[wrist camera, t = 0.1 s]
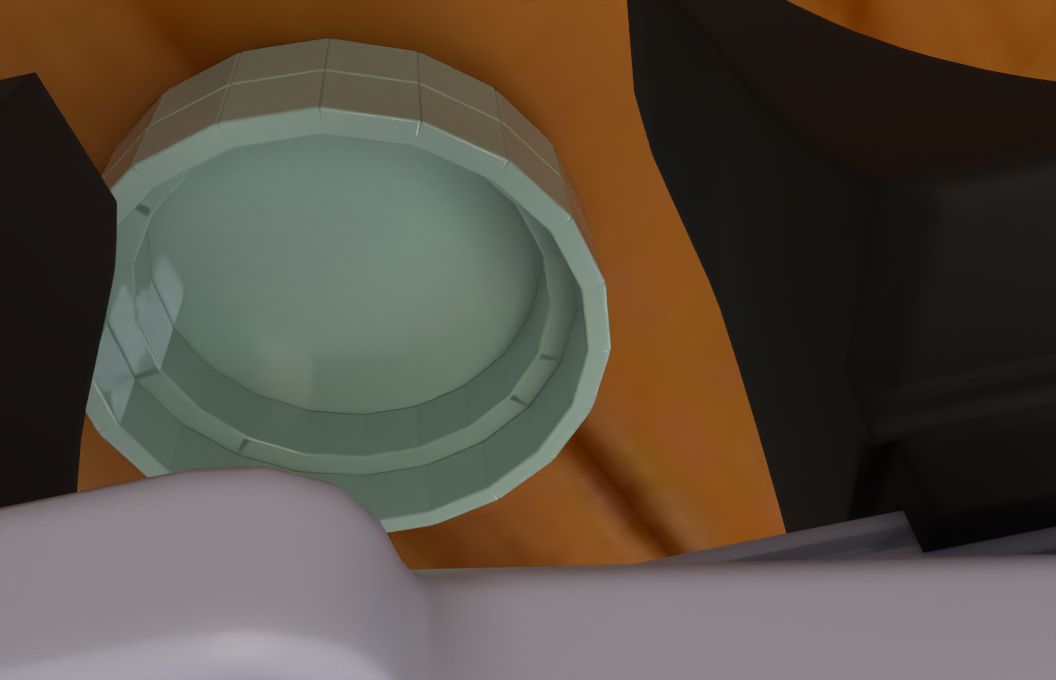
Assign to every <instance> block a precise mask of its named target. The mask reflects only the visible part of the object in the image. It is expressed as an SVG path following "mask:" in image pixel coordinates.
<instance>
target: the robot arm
mask: <svg viewBox="0 0 1056 680" xmlns="http://www.w3.org/2000/svg"><path fill="white" fill-rule="evenodd" d="M627 6H628V19H629V31H630V44H631V57H632V69H633V82H634V93H635V96H636V100H637V103H638V107H639V110H640V114H641V118H642V121H643V125H644V128H645V131H646V135H647V138H648V141H649V145H650V148H651V151H652V155H653V157H654V159H655V162H656V164H657V166H658V169H659V171H660V173H661V175H662V178H663V180H664V182H665V184H666V187H667V189H668V191H669V193H670V195H671V198H672V200H673V202H674V204H675V207H676V209H677V211H678V213H679V215H680V218H681V220H682V222H683V224H684V226H685V229H686V231H687V233H688V235H689V237H690V240H691V242H692V244H693V246H694V248H695V251H696V253H697V255H698V257H699V259H700V262H701V264H702V266H703V268H704V270H705V273H706V275H707V277H708V279H709V282H710V284H711V287H712V289H713V292H714V294H715V297H716V299H717V302H718V304H719V307H720V310H721V313H722V316H723V319H724V322H725V326H726V329H727V332H728V335H729V338H730V341H731V344H732V348H733V351H734V354H735V357H736V360H737V363H738V367H739V370H740V373H741V376H742V380H743V383H744V386H745V390H746V393H747V396H748V400H749V403H750V406H751V410H752V413H753V416H754V420H755V423H756V426H757V430H758V433H759V437H760V440H761V444H762V447H763V451H764V454H765V458H766V461H767V465H768V468H769V472H770V475H771V479H772V482H773V486H774V490H775V493H776V497H777V500H778V504H779V507H780V511H781V515H782V518H783V522H784V526H785V530H786V534H781V535H776V536H771V537H766V538H761V539H756V540H751V541H746V542H741V543H736V544H731V545H726V546H721V547H716V548H711V549H706V550H701V551H696V552H691V553H686V554H681V555H676V556H671V557H666V558H661V559H656V560H651V561H646V562H641V563H636V564H618V565H578V566H537V567H497V568H457V569H418V570H409V569H408V567H407V566H406V565H405V564H404V563H403V561H402V560H401V559H400V557H399V555H398V553H397V552H396V550H395V548H394V546H393V544H392V542H391V540H390V539H389V537H388V535H387V533H386V531H385V529H384V527H383V525H382V524H381V522H380V521H379V520H378V519H377V518H376V517H375V516H374V515H372V514H371V513H370V512H369V511H368V510H366V509H365V508H364V507H363V506H362V505H361V504H359V503H358V502H357V501H356V500H355V499H354V498H352V497H351V496H350V495H349V494H348V493H346V492H345V491H344V490H343V489H342V488H340V487H339V486H337V485H335V484H334V483H332V482H329V481H326V480H322V479H318V478H314V477H310V476H307V475H303V474H299V473H295V472H291V471H287V470H284V469H280V468H276V467H272V466H268V465H256V466H235V467H214V468H194V469H188V470H183V471H178V472H173V473H168V474H163V475H158V476H154V477H149V478H144V479H139V480H134V481H129V482H124V483H119V484H114V485H110V486H105V487H100V488H95V489H90V490H85V491H80V492H77V483H78V471H79V458H80V445H81V437H82V430H83V424H84V418H85V411H86V406H87V402H88V397H89V392H90V388H91V383H92V378H93V374H94V369H95V364H96V360H97V355H98V350H99V346H100V341H101V336H102V332H103V327H104V322H105V318H106V313H107V308H108V303H109V298H110V293H111V288H112V283H113V277H114V272H115V262H116V244H117V201H116V199H115V198H114V196H113V194H112V193H111V191H110V190H109V188H108V186H107V185H106V183H105V182H104V180H103V178H102V177H101V175H100V174H99V172H98V171H97V169H96V167H95V166H94V164H93V163H92V161H91V159H90V158H89V156H88V155H87V153H86V152H85V150H84V148H83V147H82V145H81V144H80V142H79V140H78V139H77V137H76V136H75V134H74V133H73V131H72V129H71V128H70V126H69V125H68V123H67V121H66V120H65V118H64V117H63V115H62V114H61V112H60V110H59V109H58V107H57V106H56V104H55V102H54V101H53V99H52V98H51V96H50V95H49V93H48V91H47V90H46V88H45V87H44V85H43V83H42V82H41V80H40V79H39V77H38V75H37V74H36V72H35V73H30V74H25V75H21V76H16V77H12V78H7V79H2V80H0V680H1056V81H1049V80H1042V79H1035V78H1028V77H1022V76H1017V75H1011V74H1006V73H1001V72H995V71H990V70H985V69H980V68H976V67H972V66H968V65H964V64H960V63H955V62H951V61H947V60H943V59H939V58H935V57H931V56H927V55H924V54H920V53H917V52H913V51H910V50H907V49H903V48H900V47H897V46H894V45H892V44H889V43H886V42H883V41H880V40H877V39H875V38H872V37H869V36H866V35H863V34H860V33H857V32H855V31H852V30H850V29H847V28H845V27H843V26H840V25H838V24H835V23H833V22H831V21H829V20H827V19H824V18H822V17H820V16H818V15H816V14H814V13H812V12H810V11H807V10H805V9H803V8H801V7H799V6H797V5H795V4H793V3H791V2H789V1H787V0H627Z"/></svg>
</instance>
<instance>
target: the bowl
mask: <svg viewBox="0 0 1056 680" xmlns="http://www.w3.org/2000/svg"><path fill="white" fill-rule="evenodd" d="M101 177H102V178H103V180H104V182H105V183H106V185H107V186H108V188H109V190H110V191H111V193H112V194H113V196H114V198H115V199H116V201H117V244H116V262H115V272H114V277H113V283H112V288H111V293H110V298H109V303H108V308H107V313H106V318H105V322H104V327H103V332H102V336H101V341H100V346H99V350H98V355H97V360H96V364H95V369H94V374H93V378H92V383H91V388H90V392H89V397H88V402H87V406H86V413H87V415H88V416H89V418H90V420H91V422H92V423H93V425H94V427H95V429H96V430H97V431H99V434H100V435H101V436H102V437H103V438H104V439H105V440H106V441H108V442H109V443H110V444H111V445H112V446H113V447H114V448H115V449H116V450H118V451H119V452H120V453H121V454H122V455H123V456H124V457H125V458H126V459H128V460H129V461H130V462H131V463H132V464H133V465H134V466H135V467H136V468H138V469H139V470H140V471H141V472H142V473H143V474H144V475H145V476H146V477H148V478H149V477H154V476H158V475H163V474H168V473H173V472H178V471H183V470H188V469H194V468H214V467H235V466H256V465H268V466H272V467H276V468H280V469H284V470H287V471H291V472H295V473H299V474H303V475H307V476H310V477H314V478H318V479H322V480H326V481H329V482H332V483H334V484H335V485H337V486H339V487H340V488H342V489H343V490H344V491H345V492H346V493H348V494H349V495H350V496H351V497H352V498H354V499H355V500H356V501H357V502H358V503H359V504H361V505H362V506H363V507H364V508H365V509H366V510H368V511H369V512H370V513H371V514H372V515H374V516H375V517H376V518H377V519H378V520H379V521H380V522H381V524H382V525H383V527H384V529H385V531H386V533H389V532H395V531H401V530H407V529H413V528H420V527H426V526H432V525H434V524H438V523H441V522H443V521H446V520H449V519H451V518H454V517H456V516H459V515H461V514H464V513H466V512H469V511H471V510H474V509H476V508H479V507H481V506H484V505H486V504H489V503H491V502H494V501H496V500H498V498H502V497H503V496H504V495H506V494H507V493H508V492H510V491H511V490H513V489H514V488H515V487H517V486H518V485H520V484H521V483H522V482H524V481H525V480H527V479H528V478H529V477H531V476H532V475H534V474H535V473H536V472H538V471H539V470H540V469H542V468H543V467H545V466H546V465H547V464H549V463H550V462H551V461H552V460H553V459H554V458H555V457H556V456H557V454H558V453H559V452H560V451H561V449H562V448H563V447H564V445H565V444H566V443H567V441H568V440H569V439H570V438H571V436H572V435H573V434H574V432H575V431H576V430H577V428H578V427H579V426H580V425H581V423H582V422H583V421H584V419H585V418H586V417H587V415H588V414H589V413H590V411H591V409H592V407H593V404H594V401H595V398H596V395H597V392H598V389H599V386H600V383H601V379H602V376H603V373H604V370H605V367H606V364H607V361H608V358H609V354H610V351H611V350H610V348H611V338H610V325H609V312H608V300H607V287H606V282H605V279H604V275H603V272H602V269H601V265H600V262H599V259H598V255H597V252H596V249H595V245H594V242H593V239H592V236H591V232H590V229H589V226H588V222H587V219H586V216H585V212H584V209H583V206H582V203H581V201H580V198H579V196H578V194H577V192H576V190H575V188H574V186H573V184H572V182H571V180H570V178H569V176H568V174H567V172H566V170H565V168H564V166H563V164H562V162H561V160H560V158H559V156H558V154H557V152H556V150H555V148H554V146H553V145H552V144H550V141H549V140H548V139H547V138H546V137H545V136H544V135H543V134H542V133H541V132H540V131H539V130H538V129H537V128H536V127H535V126H534V125H533V124H532V123H531V122H530V121H528V120H527V119H526V118H525V117H524V116H523V115H522V114H521V113H520V112H519V111H518V110H517V109H516V108H515V107H514V106H513V105H512V104H511V103H510V102H509V101H508V100H507V99H506V98H505V97H504V96H502V95H501V94H500V93H499V92H498V91H495V89H494V88H493V87H491V86H489V85H487V84H485V83H483V82H481V81H479V80H477V79H475V78H473V77H471V76H469V75H467V74H464V73H462V72H460V71H458V70H456V69H454V68H452V67H450V66H448V65H446V64H444V63H442V62H440V61H437V60H435V59H433V58H431V57H429V56H427V55H425V54H423V53H420V52H419V53H417V52H416V51H412V50H406V49H399V48H392V47H386V46H379V45H372V44H366V43H359V42H352V41H346V40H339V39H330V40H329V39H327V38H325V39H319V40H312V41H306V42H299V43H293V44H287V45H280V46H274V47H267V48H261V49H255V50H248V51H243V52H241V53H237V54H235V55H233V56H231V57H229V58H227V59H225V60H224V61H222V62H220V63H218V64H216V65H214V66H212V67H210V68H208V69H206V70H205V71H203V72H201V73H199V74H197V75H195V76H193V77H191V78H189V79H187V80H185V81H184V82H182V83H180V84H178V85H176V86H174V87H172V88H170V89H168V90H167V92H164V93H163V94H162V95H161V97H160V98H159V99H158V100H157V101H156V102H155V103H154V105H153V106H152V107H151V108H150V109H149V110H148V111H147V112H146V114H145V115H144V116H143V117H142V118H141V119H140V120H139V122H138V123H137V124H136V125H135V126H134V127H133V128H132V130H131V131H130V132H129V133H128V134H127V135H126V136H125V138H124V139H123V140H122V141H121V142H120V143H119V144H118V146H117V147H116V149H115V151H114V152H113V154H112V156H111V158H110V160H109V162H108V164H107V166H106V168H105V170H104V172H103V174H102V176H101Z"/></svg>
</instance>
